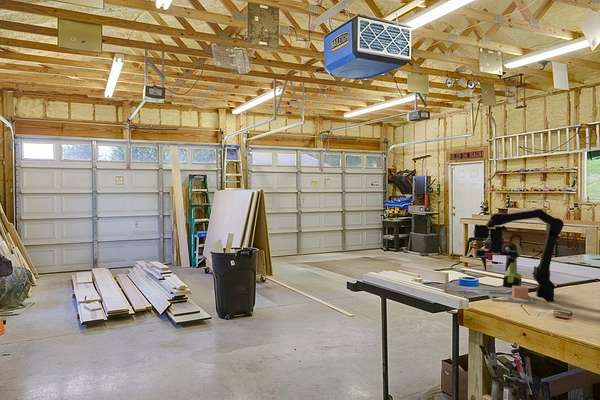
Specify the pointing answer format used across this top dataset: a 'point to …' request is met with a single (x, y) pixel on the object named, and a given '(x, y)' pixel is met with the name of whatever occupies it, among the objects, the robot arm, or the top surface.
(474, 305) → the top surface
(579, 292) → the top surface
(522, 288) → the block
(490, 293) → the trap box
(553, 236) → the robot arm
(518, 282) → the cordless drill
